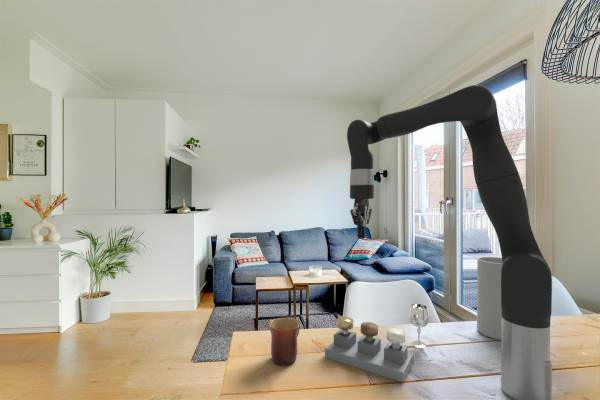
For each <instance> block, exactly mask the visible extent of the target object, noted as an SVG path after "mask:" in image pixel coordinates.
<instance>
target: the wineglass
mask: <svg viewBox="0 0 600 400" xmlns="http://www.w3.org/2000/svg"><path fill="white" fill-rule="evenodd" d="M408 317H409V321H410V323H411V325H413V326H414V327H416V328H417V329H416V331H417V340H414V341H413V340H412V341H411V343H410V345H412V347H416V348H419V349H424V348H426V347H427V344H426V343H425V342H423V341H421V337H420V335H421V331H422V330H421V328H424V327H426V326H428V325H429V323H430V322H429V321H430V315H429V309H428V306H427V305H424V304H420V303H413V304H411V305H410V309H409V314H408Z"/></svg>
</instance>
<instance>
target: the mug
mask: <svg viewBox="0 0 600 400" xmlns="http://www.w3.org/2000/svg"><path fill="white" fill-rule="evenodd" d="M300 327H301V322H300V320H299V319H298V318H292V317H279V318H275V319H272V320H270V321H269V323H268V328H269V330H270V334H271V335H270V337H271V340H270V341H271V342H270V356H271V360H272V362H273V363H274V364H276V365H279V366H289V365H292V364H294V362H296V361H297V357H298V337H299V334H300Z"/></svg>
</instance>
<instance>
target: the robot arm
mask: <svg viewBox="0 0 600 400" xmlns="http://www.w3.org/2000/svg"><path fill="white" fill-rule="evenodd" d="M497 107H498V105H497V101H496V99H495V97H494V95H493V93H492V92H491V90H489V88H488V87H486V86H484V85H481V84H471V85H468V86H466V87H463V88H459V89H458V90H456V91H453V92H451V93H449V94H447V95H444V96H442V97H440V98H437V99H434V100H432V101H429V102H425V103H423V104H421V105H418V106H417V105H416V106H414V107H409V108H407V109H402V110H399V111H395V112H391V113H389V114H388V113H387V114H384V115H382V116H380V117H379V118H378V119H377V121H374V122H367V121H365V120H363V119H355V120H353V121H351V122H350V124H349V125H348V127H347V132H346V139H347V140H346V141H347V145H348V150H349V154H350V175H349V198H350V199H351V200H354V203H353V209H350V211H349V212H350V216H351V218H352V221H353V224H354V226H356V227H357V232H356V233H357V239H360V240H364V239H365V238H366V236H367V235H366V234H367V233H366V227H367V226H368V225H369V223H370V219H371V215H372V211H373V208H370V202H369V201H370V200H373V199H374V198H375V176H374V155H373V152H371V151H370V149H369V145H373V144H376V143H379V142H382V141H384V140H388V139H391V138H397V137H401V136H402V137H403V136H405V135H408V134H409V135H410V134H412V133H415V132H417V131H420V130H422V129H424V128H427V127H430V126H433V125H437V124H443V123H451V122H460V124H461V125H462V127H463V129H464V130H463V131H465V134H466V136H467V139H468V141H469V144H470V149H471V153H472V154H471V156H472V169H473V170H472V171H473V177H474V183H475V185H476V189H477V192H478V195H479V198H480V201H481V203H482V206H483V209H484V212H485V213H486V215H487V217H488V219H489V221H490V222H491V225H492V227H493V228H494V232H495V233H496V236H497V239H498V245H499V250H500V254H501V258H502V263H503V265H502V269H501V310H502V326H501V340H500V341H501V342H500V343H501V345H500V346H501V349H500V356H501V357H500V388H501V390H502V391H503V392H504V394H505V395H507V396H508V397H510V398H511V399H513V400H553V398H552V397H553V394H552V392H553V391H552V390H553V387H552V386H553V385H552V384H553V382H552V381H553V365H552V361H551V318H552V303H553V302H552V299H553V296H552V295H553V275H552V270H551V268H550V266H549V264H548V262H547V260H546V259H545V257H544V255H543V253H542V251H541V249H540V247H539V245H538V242H537V240H536V238H535V235H534V233H533V230H532V227H531V222H530V215H529V207H528V202H527V197H526V193H525V189H524V186H523V182H522V179H521V177H520V173H519V171H518V169H517V165H516V163H515V161H514V158H513V156H512V154H511V152H510V150H509V148H508V146H507V144H506V142H505V140H504V137H503V134H502V129H501V125H500V120H499V114H498V108H497Z"/></svg>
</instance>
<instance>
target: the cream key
mask: <svg viewBox="0 0 600 400" xmlns="http://www.w3.org/2000/svg"><path fill="white" fill-rule="evenodd" d="M386 340H387V341H388V342H389V341H390V342H392V349H395V350H398V351H400V344H404V343H406V332H405V330H402V329H400V328H395V327H392V328H388V329H387V330H386Z"/></svg>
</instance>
